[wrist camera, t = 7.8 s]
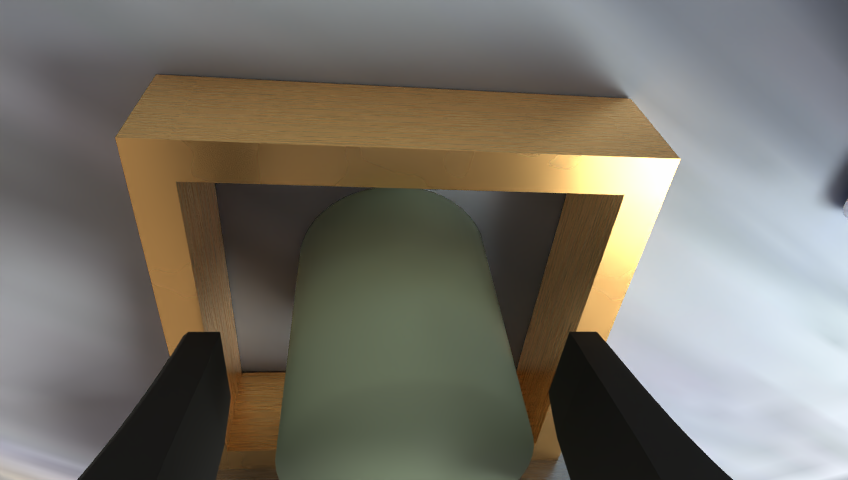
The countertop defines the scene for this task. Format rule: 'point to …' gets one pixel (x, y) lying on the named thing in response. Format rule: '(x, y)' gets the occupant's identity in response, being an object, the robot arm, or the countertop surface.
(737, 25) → the countertop surface
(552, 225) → the countertop surface
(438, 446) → the spout can
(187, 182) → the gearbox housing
